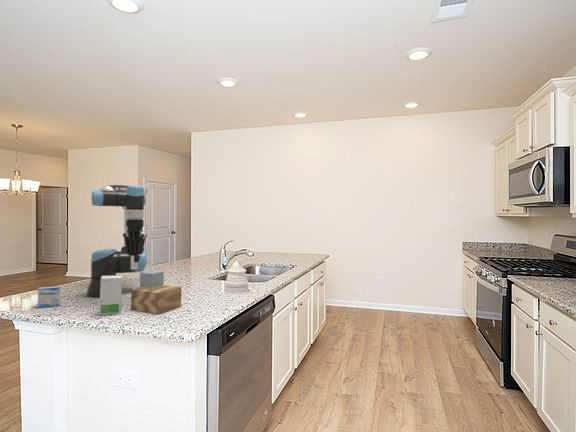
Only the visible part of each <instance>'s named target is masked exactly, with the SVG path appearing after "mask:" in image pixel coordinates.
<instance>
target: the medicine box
mask: <svg viewBox="0 0 576 432" xmlns="http://www.w3.org/2000/svg"><path fill="white" fill-rule="evenodd" d="M60 304H61V286H60V285H55V286H54V285H53V286H43V287H42V286H41V287H39V288H37V308H38V309H43V308H42V307H46V308H54V306H57V307H59V306H60Z"/></svg>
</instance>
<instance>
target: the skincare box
mask: <svg viewBox="0 0 576 432" xmlns="http://www.w3.org/2000/svg"><path fill="white" fill-rule="evenodd" d="M122 293H123V275H116V276H102V277H101V284H100V297H99V308H98V309H99V311H98V315H99V316H105V315H106V316H107V315H120V314H121V313H122V312H121V311H122V296H123V295H122Z"/></svg>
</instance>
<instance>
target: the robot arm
mask: <svg viewBox="0 0 576 432" xmlns="http://www.w3.org/2000/svg"><path fill="white" fill-rule="evenodd" d="M146 201H147V200H146V193H145V188H144V187H143V186H141V185H124V184H122V185H120V184H110V185H106V186H103V187H100V188H99V189H94V190H92V191H91V205H92V206H95V207H97V206H98V207H121V208H122V209H123V212H124V213H123V214H124V216H123V217H124V221H123V222H124V223H123V226H124V228H123V230H124V231H123V234H122V236H123V237H122V238H123V241H124V242H123V245H122V246H121V248H120V251H118V250H117V248H107V249H106V248H105V249H101V250H96V251H94V252H93V253H91V260H90V262H91V264H90V265H91V267H90V269H91V271H90V282H89V283H88V288H87V290H86V296H87V297H89V296H90V298H100V284H101V277H102V276H117V274H125V273H126V274H129V273H130V274H131V273H135V274H136V273H142V272H145V269H146V264H147V263H146V262H147V255H148V250H146V249H145V247H144V246H145V242H146V238H147V236H148V235H147V234H146V233H144V231H143V228H144V224H145V223H144V217H145V215H144V214H145V209H144V208H145V205H146V204H147V203H146Z"/></svg>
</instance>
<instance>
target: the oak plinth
mask: <svg viewBox="0 0 576 432" xmlns="http://www.w3.org/2000/svg"><path fill="white" fill-rule="evenodd" d="M130 291H131V293H130V294H131V295H130V310H131V311H136V310H137V312H143V313H149V314H154V315H155V314H156V315H161V314H165V313H166V312H169V311H172V310H176V309H178V308H180V307H182V286H178V285H177V286H176V285H169V284H163V287H161V288H157V289H153V290H149V289H142V288H140V286H139V287H136V288H131V290H130Z"/></svg>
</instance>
